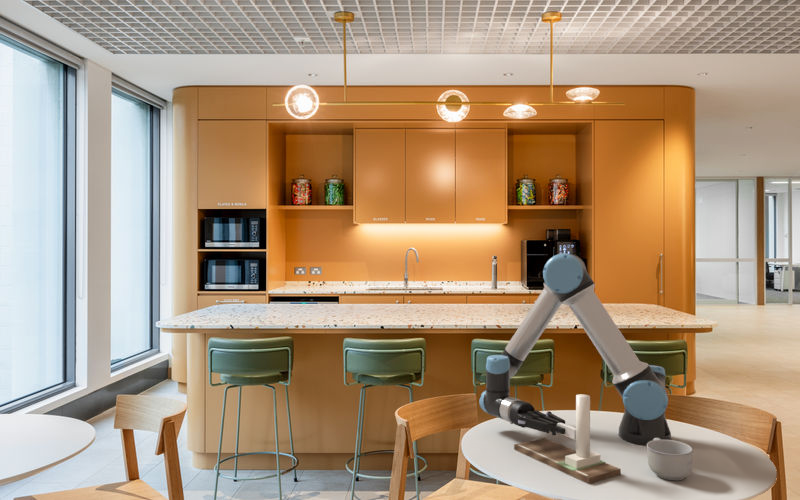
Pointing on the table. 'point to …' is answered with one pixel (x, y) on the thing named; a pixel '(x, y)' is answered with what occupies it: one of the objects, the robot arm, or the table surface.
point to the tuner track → (555, 458)
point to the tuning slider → (582, 436)
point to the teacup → (669, 458)
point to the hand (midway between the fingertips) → (576, 434)
